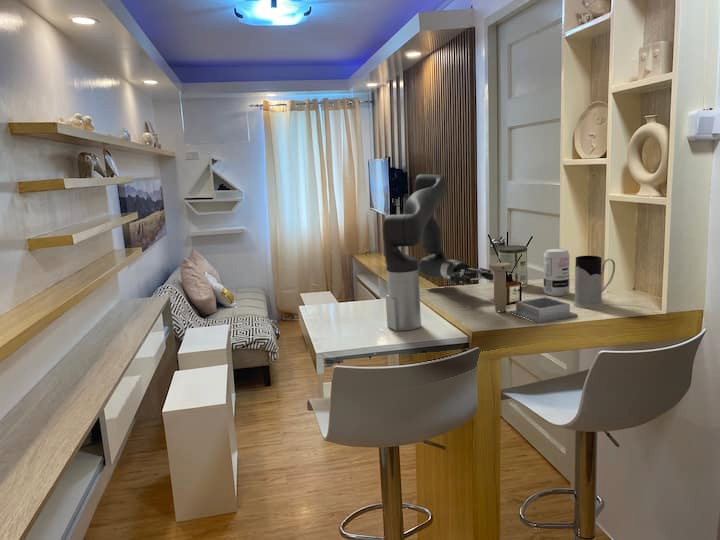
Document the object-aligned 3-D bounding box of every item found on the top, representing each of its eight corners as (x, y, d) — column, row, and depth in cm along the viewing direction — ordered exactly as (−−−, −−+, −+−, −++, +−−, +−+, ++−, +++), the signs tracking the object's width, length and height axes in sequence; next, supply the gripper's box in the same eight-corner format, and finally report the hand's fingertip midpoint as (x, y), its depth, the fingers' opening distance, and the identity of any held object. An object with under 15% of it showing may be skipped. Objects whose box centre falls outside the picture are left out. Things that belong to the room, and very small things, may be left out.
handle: (513, 312, 185) (512, 264, 182) (493, 314, 184) (492, 266, 181) (507, 308, 190) (506, 261, 187) (488, 310, 189) (486, 263, 186)
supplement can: (548, 290, 210) (548, 247, 207) (572, 292, 205) (572, 248, 202) (540, 295, 203) (540, 251, 201) (565, 297, 199) (565, 252, 196)
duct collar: (538, 323, 172) (538, 311, 171) (509, 313, 185) (509, 301, 184) (577, 316, 177) (577, 304, 176) (546, 306, 190) (546, 295, 189)
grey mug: (567, 303, 191) (567, 257, 188) (604, 297, 195) (604, 252, 192) (585, 309, 183) (585, 261, 180) (623, 303, 187) (624, 256, 184)
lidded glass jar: (504, 281, 227) (503, 244, 225) (531, 283, 222) (530, 245, 219) (494, 287, 219) (493, 249, 216) (522, 289, 213) (522, 250, 211)
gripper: (437, 263, 207) (461, 270, 192) (472, 258, 212) (499, 264, 197) (437, 284, 208) (462, 293, 193) (473, 278, 213) (499, 287, 198)
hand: (481, 279), depth 195 cm, fingers open, 8 cm apart
